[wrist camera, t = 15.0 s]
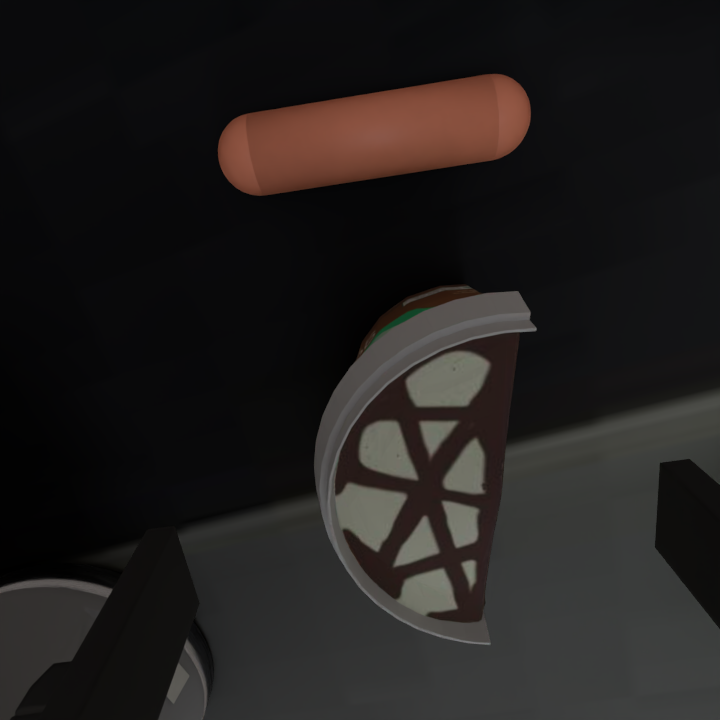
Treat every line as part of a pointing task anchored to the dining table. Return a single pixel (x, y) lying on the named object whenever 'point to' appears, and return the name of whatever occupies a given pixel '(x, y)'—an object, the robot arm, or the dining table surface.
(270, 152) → the sausage
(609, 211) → the dining table surface
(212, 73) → the dining table surface
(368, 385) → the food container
